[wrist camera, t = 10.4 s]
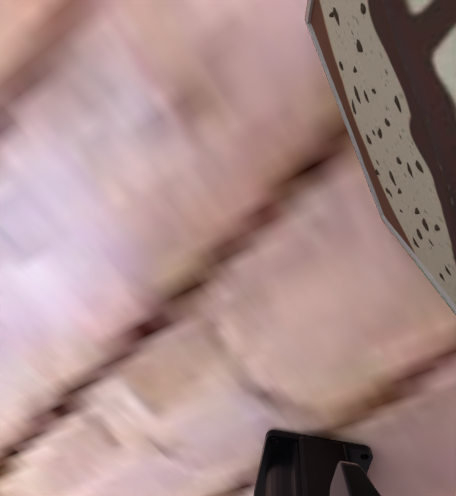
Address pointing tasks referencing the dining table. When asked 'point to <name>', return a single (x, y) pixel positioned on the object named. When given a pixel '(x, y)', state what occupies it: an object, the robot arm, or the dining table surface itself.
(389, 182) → the food container
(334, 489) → the robot arm
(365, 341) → the dining table surface
